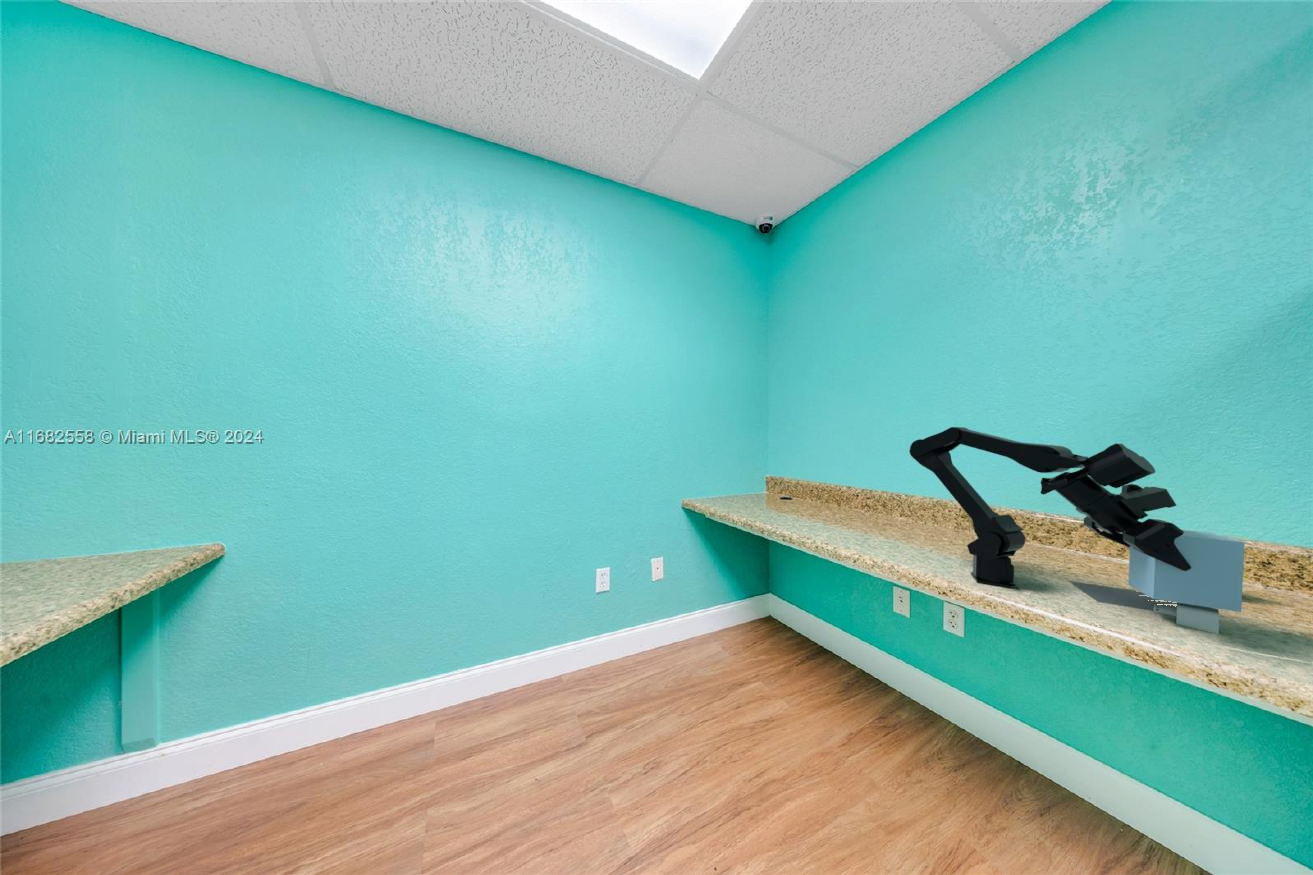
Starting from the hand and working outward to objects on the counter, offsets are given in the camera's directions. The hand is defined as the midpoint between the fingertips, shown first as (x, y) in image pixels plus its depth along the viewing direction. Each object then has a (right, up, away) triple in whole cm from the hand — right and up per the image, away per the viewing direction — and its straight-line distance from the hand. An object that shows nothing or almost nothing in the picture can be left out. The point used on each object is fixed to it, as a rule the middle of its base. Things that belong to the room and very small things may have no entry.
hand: (1172, 563), depth 71 cm
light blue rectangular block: (+1, -6, 0) cm, 6 cm away
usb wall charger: (+1, -11, -1) cm, 12 cm away
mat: (+5, -11, +10) cm, 16 cm away
